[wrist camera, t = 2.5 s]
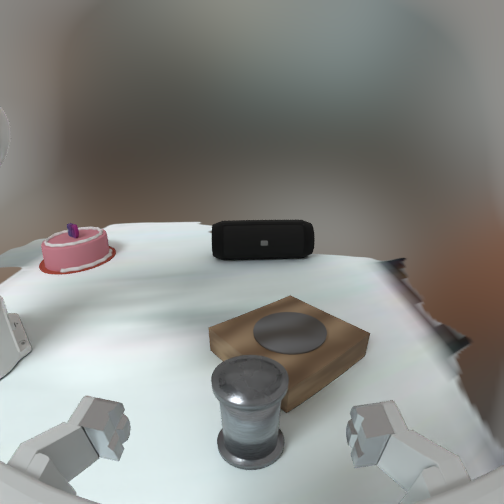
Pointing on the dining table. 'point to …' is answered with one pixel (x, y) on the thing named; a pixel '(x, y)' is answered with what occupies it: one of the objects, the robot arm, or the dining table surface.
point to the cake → (75, 250)
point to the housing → (250, 410)
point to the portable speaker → (262, 239)
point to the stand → (293, 344)
